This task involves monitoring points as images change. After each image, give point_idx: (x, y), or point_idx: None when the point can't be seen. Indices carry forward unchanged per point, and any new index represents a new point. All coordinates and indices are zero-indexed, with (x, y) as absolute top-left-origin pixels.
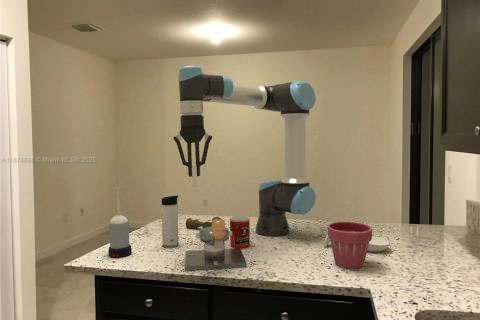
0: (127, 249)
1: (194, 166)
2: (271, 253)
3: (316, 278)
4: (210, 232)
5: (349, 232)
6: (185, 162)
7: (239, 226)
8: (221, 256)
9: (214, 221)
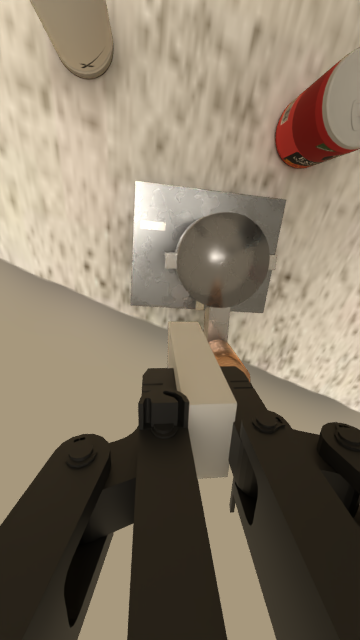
0: None
1: (219, 407)
2: (345, 234)
3: (344, 382)
4: (208, 289)
5: None
6: (101, 544)
7: (331, 151)
8: None
9: None
